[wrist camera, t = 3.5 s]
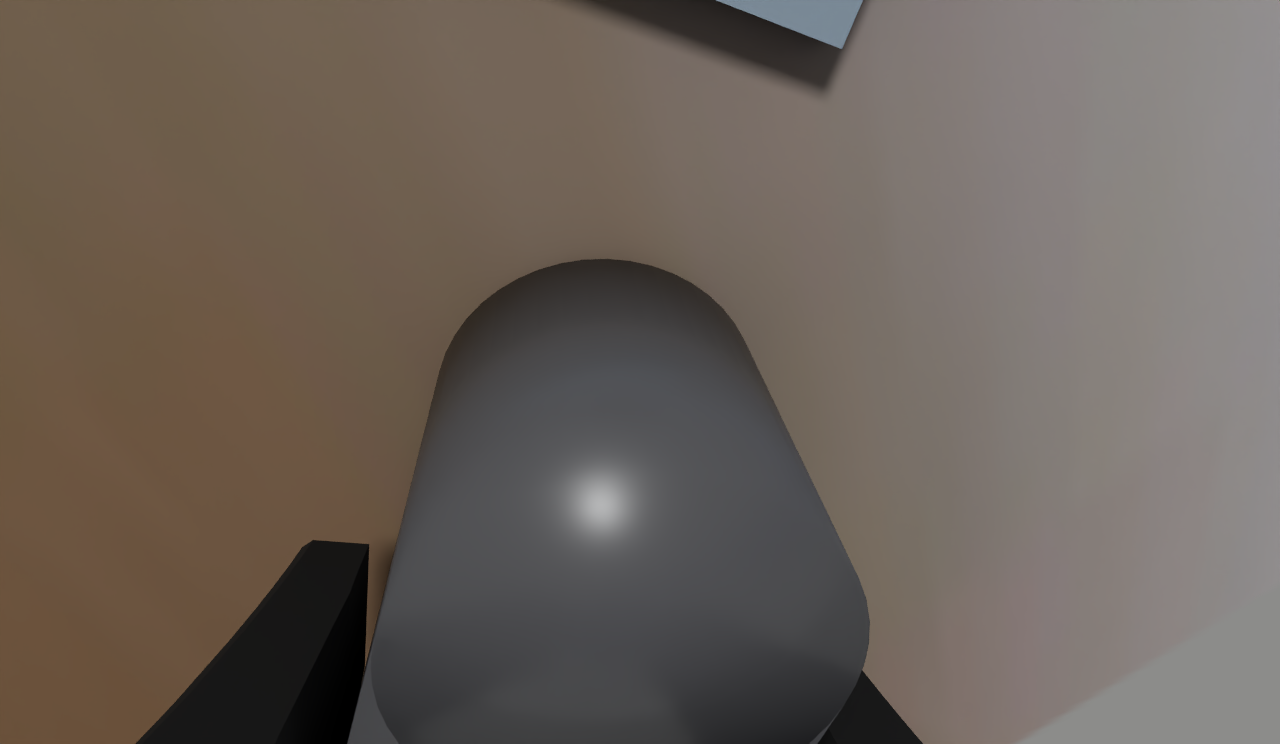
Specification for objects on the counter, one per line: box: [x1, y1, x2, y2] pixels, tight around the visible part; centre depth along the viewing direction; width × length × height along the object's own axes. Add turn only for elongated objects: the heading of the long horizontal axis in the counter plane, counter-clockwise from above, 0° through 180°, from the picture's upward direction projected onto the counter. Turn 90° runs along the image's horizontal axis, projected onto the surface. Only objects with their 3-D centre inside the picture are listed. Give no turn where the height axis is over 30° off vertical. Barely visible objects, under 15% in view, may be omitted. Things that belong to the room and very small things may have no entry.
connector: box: [347, 259, 870, 744], centre depth 9 cm, size 4×10×4 cm, turn 161°
